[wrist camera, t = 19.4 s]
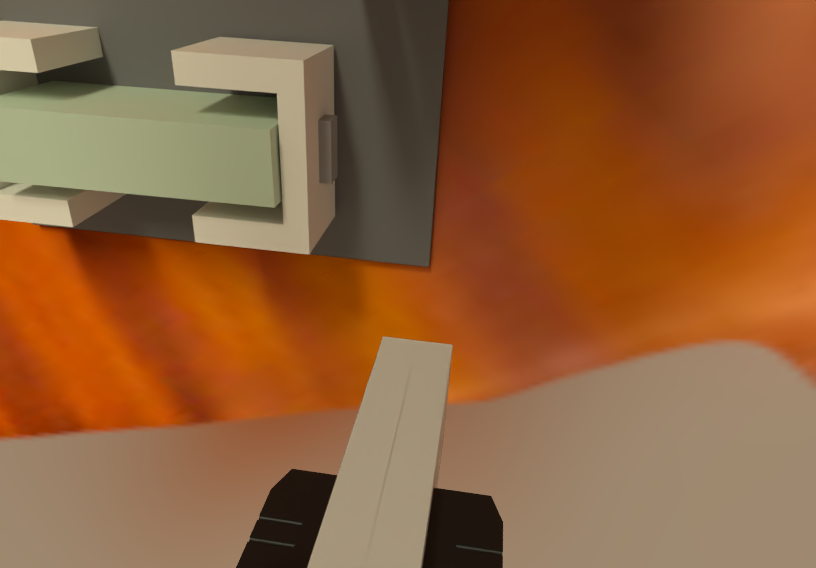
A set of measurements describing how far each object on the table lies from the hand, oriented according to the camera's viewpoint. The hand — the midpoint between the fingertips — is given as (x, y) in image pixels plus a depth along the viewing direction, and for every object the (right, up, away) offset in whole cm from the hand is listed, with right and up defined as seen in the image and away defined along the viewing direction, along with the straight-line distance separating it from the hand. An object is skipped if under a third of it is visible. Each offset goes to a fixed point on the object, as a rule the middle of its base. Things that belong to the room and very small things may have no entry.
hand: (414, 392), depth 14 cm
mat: (-10, +11, +19) cm, 24 cm away
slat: (-12, +11, +19) cm, 25 cm away
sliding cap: (-6, +10, +18) cm, 22 cm away
